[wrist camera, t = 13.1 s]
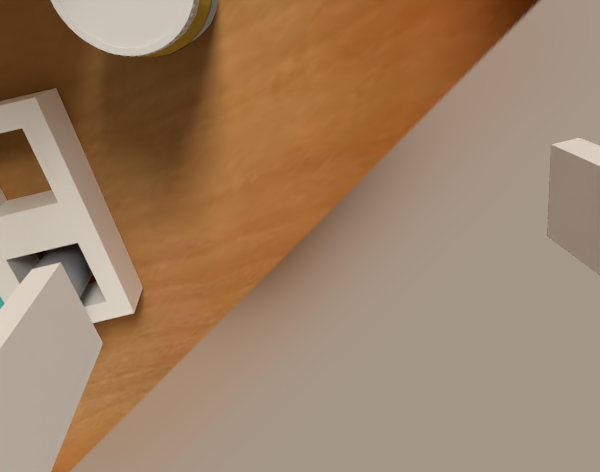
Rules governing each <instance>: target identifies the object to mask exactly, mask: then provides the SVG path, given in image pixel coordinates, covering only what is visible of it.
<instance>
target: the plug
mask: <svg viewBox="0 0 600 472" xmlns="http://www.w3.org/2000/svg"><path fill="white" fill-rule="evenodd" d="M60 262H61V264H62V266H63V268H64V269H65V271H66V273H67V275H68V277H69V279H70V281H71V283H72V285H73V287H74V289H75V291H76V292H77V294H78V296H79V298H80V297H81V295H82V293H83V291H84V290H85V288H86V286H87V284H88V282H89V280H90V278H91V277H92V275H93V273H92V271H91V269H90V267H89V265H88V263H87V261H86V259H85V257H84V254H83V252H82V250H81V248H80V246H79V244H78V243H75V244H70V245H66V246H62V247H58V248H54V249H50V250H48V251H47V252H46V254H45V255H44V256H43V257H42V259H41V260H40V261H39V263H38V264H37V265H36V266H35V268H39V267H43V266H47V265H52V264H56V263H60ZM35 268H34V269H35Z"/></svg>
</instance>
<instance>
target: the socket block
mask: <svg viewBox="0 0 600 472" xmlns="http://www.w3.org/2000/svg"><path fill="white" fill-rule="evenodd" d="M21 128H22V129H23V131H24V133H25V135H26V137H27V139H28V141H29V143H30V146H31V148H32V150H33V152H34V154H35V156H36V158H37V160H38V162H39V164H40V166H41V168H42V170H43V172H44V174H45V176H46V178H47V180H48V183H49V185H50V187H51V189H52V190H49V191H45V192H40V193H36V194H32V195H28V196H24V197H19V198H15V199H11V200H7V199H6V197H5V195H4V193H3V191H2V190H1V188H0V309H1V308H2V306H3V305H4V304H5V303H6V301H7V300H8V299H9V297H10V296H11V295H12V294H13V292H14V291H15V290H16V289H17V287H18V286H19V285H20V284H21V282H22V281H23V280H24V279H25V277H26V276H27V275H28V273H29V272H30V271H31V270H32V269H34V268H35V266H36V265H37V264H38V263H39V261H40V260H39V258H38V256H37V254H36V253H37V252H41V251H45V250H50V249H54V248H58V247H62V246H66V245H70V244H75V243H78V244H79V246H80V248H81V250H82V252H83V254H84V257H85V259H86V261H87V263H88V265H89V267H90V269H91V271H92V273H93V275H94V277H95V279H96V281H97V282H93V283H88V284H87V286H86V288H85V290H84V291H83V293H82V295H81V297H80V300H81V302H82V304H83V306H84V308H85V310H86V312H87V314H88V316H89V317H90V319H91V321H92V323H96V322H100V321H104V320H108V319H112V318H116V317H120V316H125V315H129V314H133V313H134V312H135V309H136V307H137V304H138V301H139V298H140V295H141V292H142V289H143V286H142V284H141V282H140V280H139V277H138V275H137V273H136V270H135V268H134V266H133V263H132V261H131V259H130V257H129V254H128V252H127V250H126V247H125V245H124V243H123V240H122V238H121V236H120V234H119V231H118V229H117V227H116V224H115V222H114V220H113V217H112V215H111V213H110V211H109V208H108V206H107V204H106V201H105V199H104V197H103V194H102V192H101V190H100V188H99V185H98V183H97V181H96V178H95V176H94V174H93V171H92V169H91V167H90V165H89V162H88V160H87V158H86V155H85V153H84V151H83V148H82V146H81V144H80V142H79V139H78V137H77V135H76V132H75V130H74V128H73V125H72V123H71V121H70V119H69V116H68V114H67V112H66V109H65V107H64V105H63V102H62V100H61V98H60V96H59V93H58V91H57V89H56V88H54V89H50V90H45V91H41V92H37V93H33V94H28V95H24V96H20V97H15V98H11V99H7V100H3V101H0V133H4V132H8V131H13V130H17V129H21Z"/></svg>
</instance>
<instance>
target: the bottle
mask: <svg viewBox="0 0 600 472" xmlns="http://www.w3.org/2000/svg"><path fill="white" fill-rule="evenodd" d="M51 2H52V4H53V6H54V8H55V9H56V11H57V13H58V14H59V16H60V17H61V18H62V20H63V21H64V22H65V23H66V24H67V25H68V27H69V28H70V29H71V30H72V31H73V32H75V34H76V35H78V36H79V37H80V38H82V40H84V41H86V42H88V43H89V44H90V45H92V46H95V47H96V48H98V49H99V50H103V51H105V52H107V53H113V54H114V55H121V56H124V57H125V56H130V57H134V56H138V57H140V56H143V57H156V56H162V55H168V54H171V53H174V52H176V51H178V50H180V49H181V48H183V47H185V46H187V45H188V44H190V43H191V42H192V41H194V40H195V39H196V38H198V37H199V36H200V35H201V34H202V33H203V32H204V31H205V30H206V29H207V28H208V27H209V25H210V24H211V22H212V20H213V18H214V15H215V13H216V11H217V7H218V0H51Z"/></svg>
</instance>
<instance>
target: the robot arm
mask: <svg viewBox="0 0 600 472" xmlns="http://www.w3.org/2000/svg"><path fill="white" fill-rule="evenodd" d="M547 236H548V237H549V238H551V239H552V240H554V241H555V242H556V243H558V244H559V245H560V246H562V247H563V248H564V249H566V250H567V251H568V252H570V253H571V254H572V255H574V256H575V257H576V258H578V259H579V260H580V261H582V262H583V263H584V264H586V265H587V266H588V267H590V268H591V269H592V270H594V271H595V272H596V273H598V274H599V275H600V145H597V144H595V143H592V142H589V141H587V140H584V139H582V138H576V139H572V140H568V141H563V142H559V143H555V144H551V158H550V183H549V206H548V229H547ZM102 345H103V342H102V340H101V339H100V337H99V335H98V333H97V331H96V329H95V327H94V325H93V323H92V321H91V319H90V317H89V316H88V314H87V312H86V310H85V308H84V306H83V304H82V302H81V300H80V298H79V296H78V294H77V292H76V291H75V289H74V287H73V285H72V283H71V281H70V279H69V277H68V275H67V273H66V271H65V269H64V268H63V266H62V264H61V262H60V263H56V264H52V265H47V266H43V267H39V268H35V269H32V270H31V271H30V272H29V273H28V275H27V276H26V277H25V279H24V280H23V281H22V282H21V284H20V285H19V286H18V287H17V289H16V290H15V291H14V292H13V294H12V295H11V296H10V297H9V299H8V300H7V301H6V303H5V304H4V305H3V306H2V308H1V309H0V472H51V470H52V468H53V465H54V463H55V460H56V458H57V455H58V453H59V450H60V448H61V446H62V443H63V441H64V438H65V436H66V433H67V431H68V428H69V426H70V423H71V421H72V419H73V416H74V414H75V411H76V409H77V406H78V404H79V401H80V399H81V396H82V394H83V391H84V389H85V387H86V384H87V382H88V379H89V377H90V374H91V372H92V369H93V367H94V364H95V362H96V359H97V357H98V355H99V352H100V350H101V347H102Z"/></svg>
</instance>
